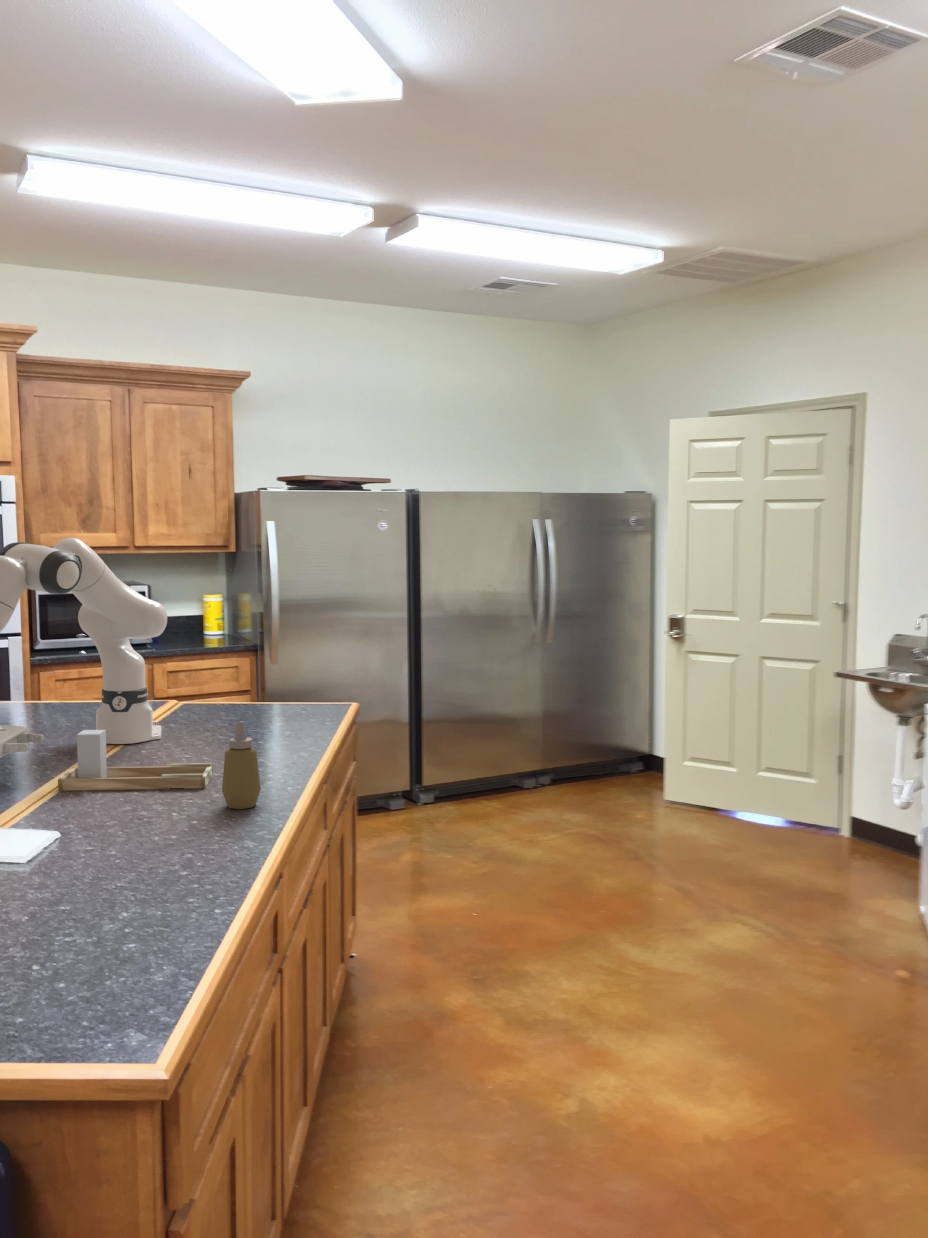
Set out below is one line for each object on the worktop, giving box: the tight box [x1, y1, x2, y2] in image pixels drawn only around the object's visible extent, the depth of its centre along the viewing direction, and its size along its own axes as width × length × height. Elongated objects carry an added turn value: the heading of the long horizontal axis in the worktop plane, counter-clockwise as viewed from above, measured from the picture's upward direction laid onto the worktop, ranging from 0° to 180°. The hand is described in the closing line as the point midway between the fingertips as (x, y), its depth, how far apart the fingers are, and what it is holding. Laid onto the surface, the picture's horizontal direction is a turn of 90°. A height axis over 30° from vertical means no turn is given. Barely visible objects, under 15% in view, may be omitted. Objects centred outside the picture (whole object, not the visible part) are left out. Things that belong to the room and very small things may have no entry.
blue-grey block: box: [76, 729, 108, 778], centre depth 226 cm, size 5×5×12 cm
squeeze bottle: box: [221, 721, 262, 810], centre depth 209 cm, size 8×8×18 cm
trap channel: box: [57, 762, 214, 792], centre depth 228 cm, size 11×32×3 cm, turn 95°
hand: (35, 742), depth 224 cm, fingers open, 8 cm apart
